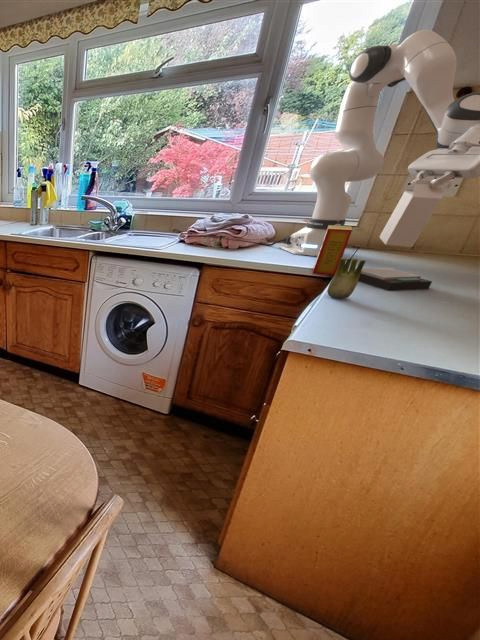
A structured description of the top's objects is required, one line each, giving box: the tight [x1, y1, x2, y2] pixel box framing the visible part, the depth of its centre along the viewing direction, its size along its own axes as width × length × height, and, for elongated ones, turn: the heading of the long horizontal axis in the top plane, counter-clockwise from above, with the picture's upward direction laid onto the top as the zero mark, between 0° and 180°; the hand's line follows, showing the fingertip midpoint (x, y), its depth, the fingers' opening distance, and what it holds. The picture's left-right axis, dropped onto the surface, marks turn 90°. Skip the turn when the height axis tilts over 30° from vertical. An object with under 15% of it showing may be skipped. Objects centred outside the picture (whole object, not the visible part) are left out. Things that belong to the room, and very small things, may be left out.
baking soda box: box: [312, 225, 353, 277], centre depth 155 cm, size 10×6×16 cm
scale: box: [354, 267, 433, 291], centre depth 143 cm, size 16×13×3 cm
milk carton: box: [378, 179, 447, 248], centre depth 136 cm, size 7×7×19 cm
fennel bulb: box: [327, 257, 367, 300], centre depth 129 cm, size 6×5×12 cm
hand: (422, 185), depth 132 cm, fingers closed on milk carton, 4 cm apart
